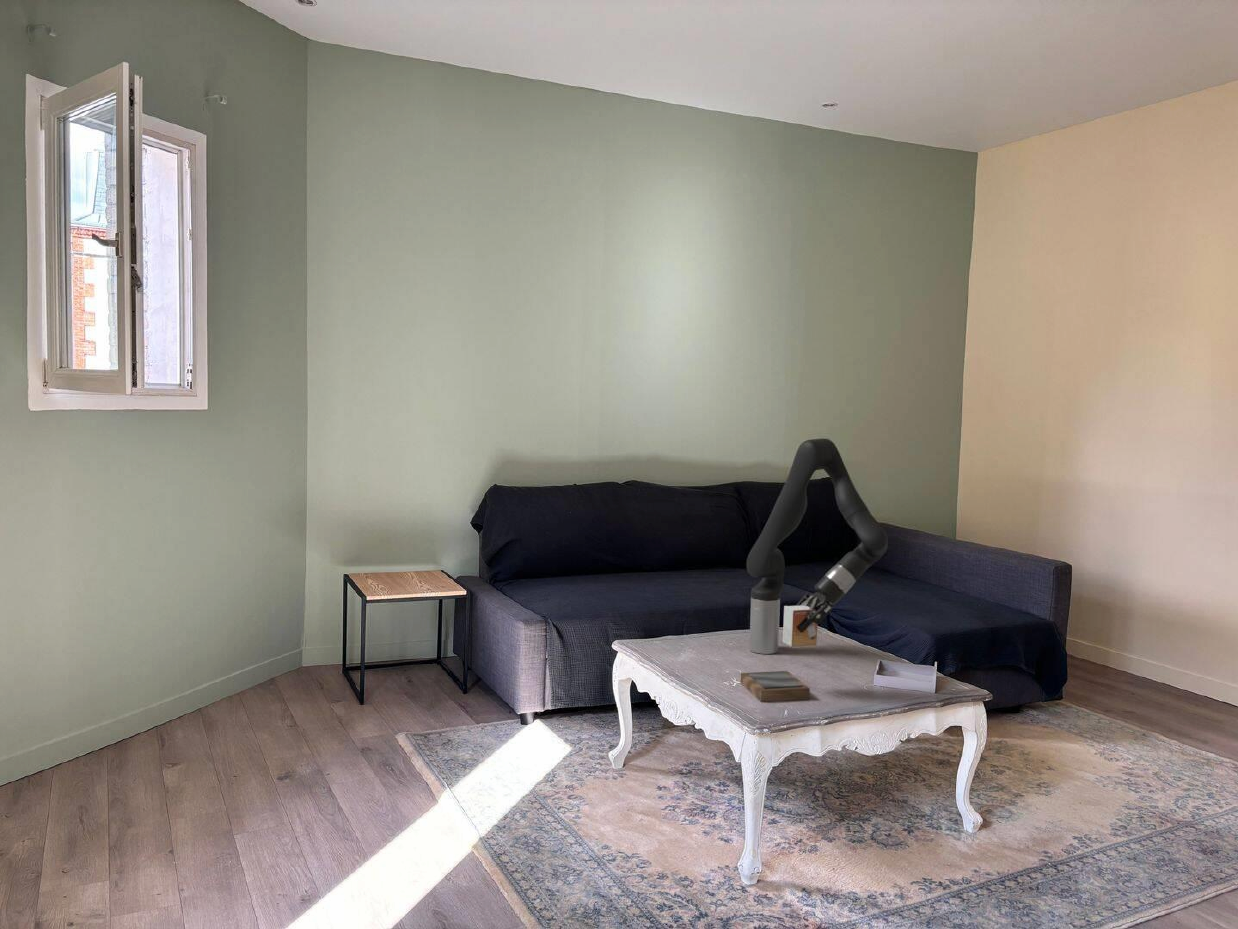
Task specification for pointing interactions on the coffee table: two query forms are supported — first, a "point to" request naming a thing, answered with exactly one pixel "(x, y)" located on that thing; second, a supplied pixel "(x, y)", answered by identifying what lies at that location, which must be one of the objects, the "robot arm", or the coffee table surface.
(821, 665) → the coffee table surface
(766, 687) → the plinth
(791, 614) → the small box
